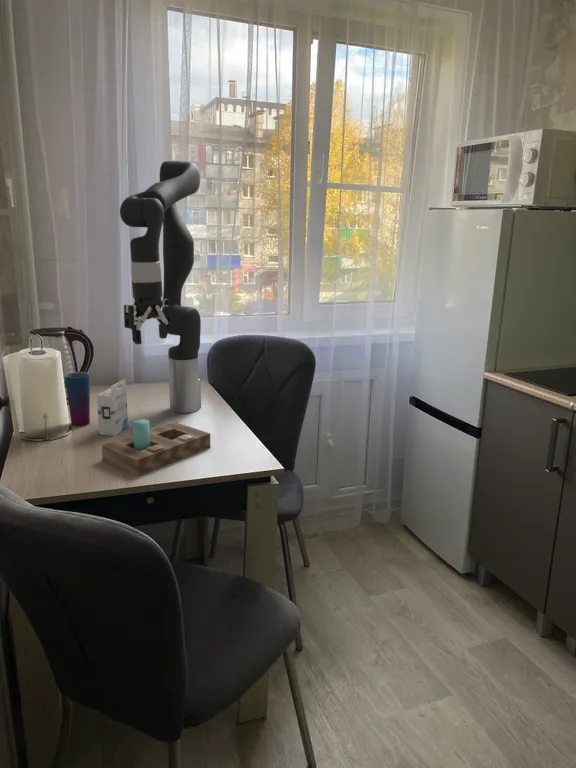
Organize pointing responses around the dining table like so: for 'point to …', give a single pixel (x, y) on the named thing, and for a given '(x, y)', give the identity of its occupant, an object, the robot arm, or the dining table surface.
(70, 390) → the cup
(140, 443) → the plug
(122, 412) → the ink box
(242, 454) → the dining table surface
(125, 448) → the board
